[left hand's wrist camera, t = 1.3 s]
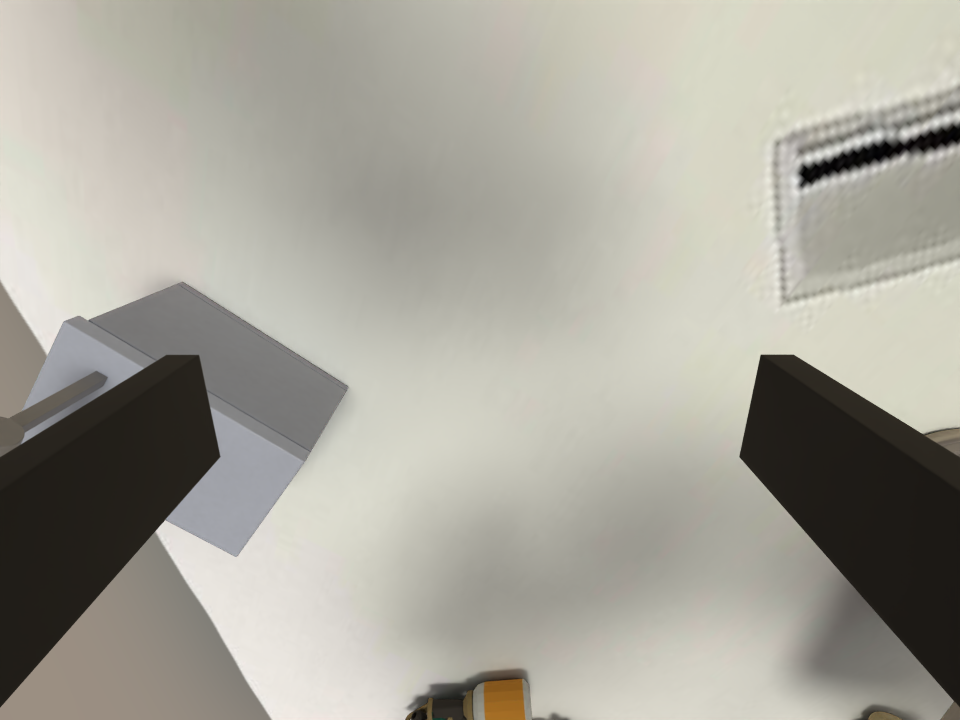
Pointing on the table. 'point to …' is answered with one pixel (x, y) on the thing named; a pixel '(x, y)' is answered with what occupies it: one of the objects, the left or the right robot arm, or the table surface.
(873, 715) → the sculpture
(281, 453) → the lid
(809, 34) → the table surface
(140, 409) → the left robot arm
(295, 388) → the chest
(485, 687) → the spray gun
